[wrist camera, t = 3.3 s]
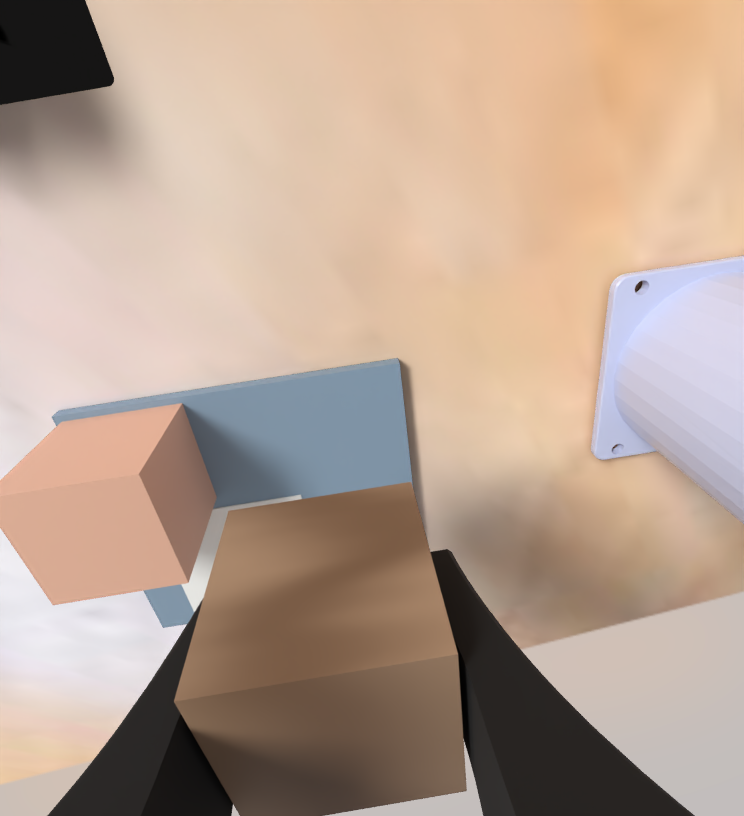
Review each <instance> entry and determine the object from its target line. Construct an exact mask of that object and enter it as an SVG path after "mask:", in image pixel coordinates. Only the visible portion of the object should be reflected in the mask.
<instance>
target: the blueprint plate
mask: <svg viewBox="0 0 744 816" xmlns="http://www.w3.org/2000/svg"><path fill="white" fill-rule="evenodd" d="M179 403H182V404H183V407H184V409H185V412H186V415H187V417H188V420H189V423H190V426H191V428H192V431H193V434H194V436H195V439H196V442H197V445H198V447H199V450H200V453H201V456H202V458H203V461H204V464H205V466H206V469H207V472H208V475H209V477H210V480H211V483H212V485H213V488H214V491H215V494H216V496H217V498H216V501H215V504H214V507H213V510H212V513H211V516H210V519H209V522H208V525H207V529H206V532H205V535H204V538H203V541H202V544H201V547H200V550H199V553H198V556H197V559H196V562H195V565H194V568H193V571H192V574H191V577H190V580H189V583H186V584H180V585H173V586H167V587H161V588H155V589H149V590H143V591H144V592H145V594H146V596H147V598H148V600H149V602H150V604H151V606H152V608H153V610H154V611H155V613H156V615H157V617H158V619H159V621H160V623H161V625H162V627H163V628H165V627H171V626H177V625H183V624H188V622H189V620H190V619H191V617H192V616H193V614H194V612H195V611H196V609H197V607H198V606H199V604H200V602H201V601H202V599H203V597H204V594H205V591H206V587H207V584H208V580H209V577H210V573H211V570H212V566H213V563H214V559H215V556H216V552H217V549H218V545H219V542H220V538H221V535H222V531H223V528H224V524H225V521H226V517H227V514H228V511H230V510H237V509H243V508H249V507H256V506H262V505H268V504H274V503H281V502H287V501H293V500H300V499H306V498H312V497H318V496H325V495H331V494H337V493H343V492H350V491H356V490H362V489H369V488H375V487H381V486H387V485H394V484H400V483H406V482H411V483H412V473H411V464H410V455H409V446H408V436H407V427H406V418H405V408H404V399H403V390H402V381H401V371H400V363H399V360H398V358H396V359H389V360H383V361H376V362H370V363H363V364H357V365H350V366H344V367H337V368H331V369H325V370H318V371H312V372H305V373H299V374H292V375H286V376H279V377H273V378H266V379H260V380H254V381H247V382H241V383H234V384H228V385H221V386H215V387H208V388H202V389H195V390H189V391H182V392H176V393H170V394H163V395H157V396H150V397H144V398H137V399H131V400H124V401H118V402H111V403H105V404H99V405H92V406H86V407H79V408H73V409H66V410H60V411H58V412H57V413H56V414H54V415H53V416H52V419H53V420H54V422H55V424H56V426H58V425H59V424H60V423H61V422H63V421H70V420H76V419H83V418H89V417H95V416H102V415H108V414H115V413H121V412H128V411H134V410H141V409H147V408H153V407H160V406H166V405H173V404H179ZM412 487H413V483H412Z"/></svg>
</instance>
